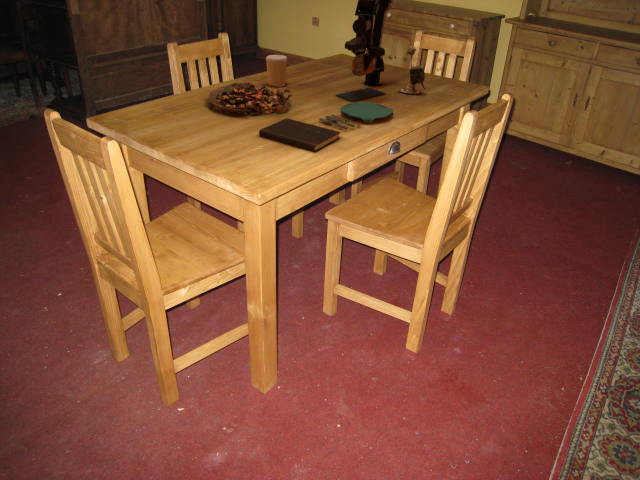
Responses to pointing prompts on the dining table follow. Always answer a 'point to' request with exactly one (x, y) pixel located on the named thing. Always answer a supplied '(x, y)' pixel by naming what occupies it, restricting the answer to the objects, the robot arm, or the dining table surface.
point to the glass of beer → (276, 69)
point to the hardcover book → (300, 134)
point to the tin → (362, 65)
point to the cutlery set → (360, 113)
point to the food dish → (248, 100)
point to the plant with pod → (414, 75)
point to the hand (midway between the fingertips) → (362, 69)
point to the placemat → (360, 94)
